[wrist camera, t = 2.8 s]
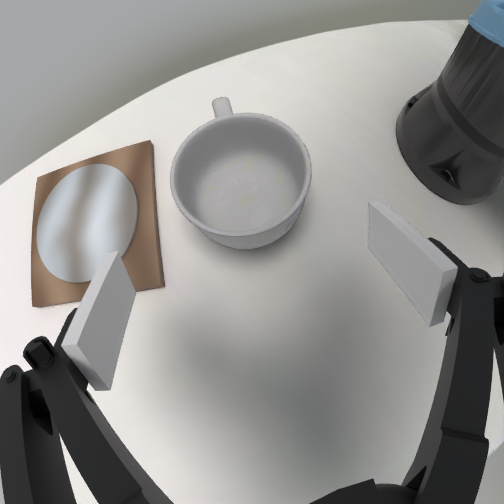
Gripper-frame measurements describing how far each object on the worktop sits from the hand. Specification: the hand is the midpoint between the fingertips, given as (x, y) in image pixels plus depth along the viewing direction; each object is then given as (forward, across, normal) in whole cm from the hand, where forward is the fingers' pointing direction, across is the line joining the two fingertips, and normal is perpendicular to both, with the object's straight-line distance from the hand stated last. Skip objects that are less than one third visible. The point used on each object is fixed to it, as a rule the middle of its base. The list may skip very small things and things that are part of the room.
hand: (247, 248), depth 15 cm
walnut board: (+16, -16, -2) cm, 23 cm away
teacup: (+16, +1, -3) cm, 16 cm away
